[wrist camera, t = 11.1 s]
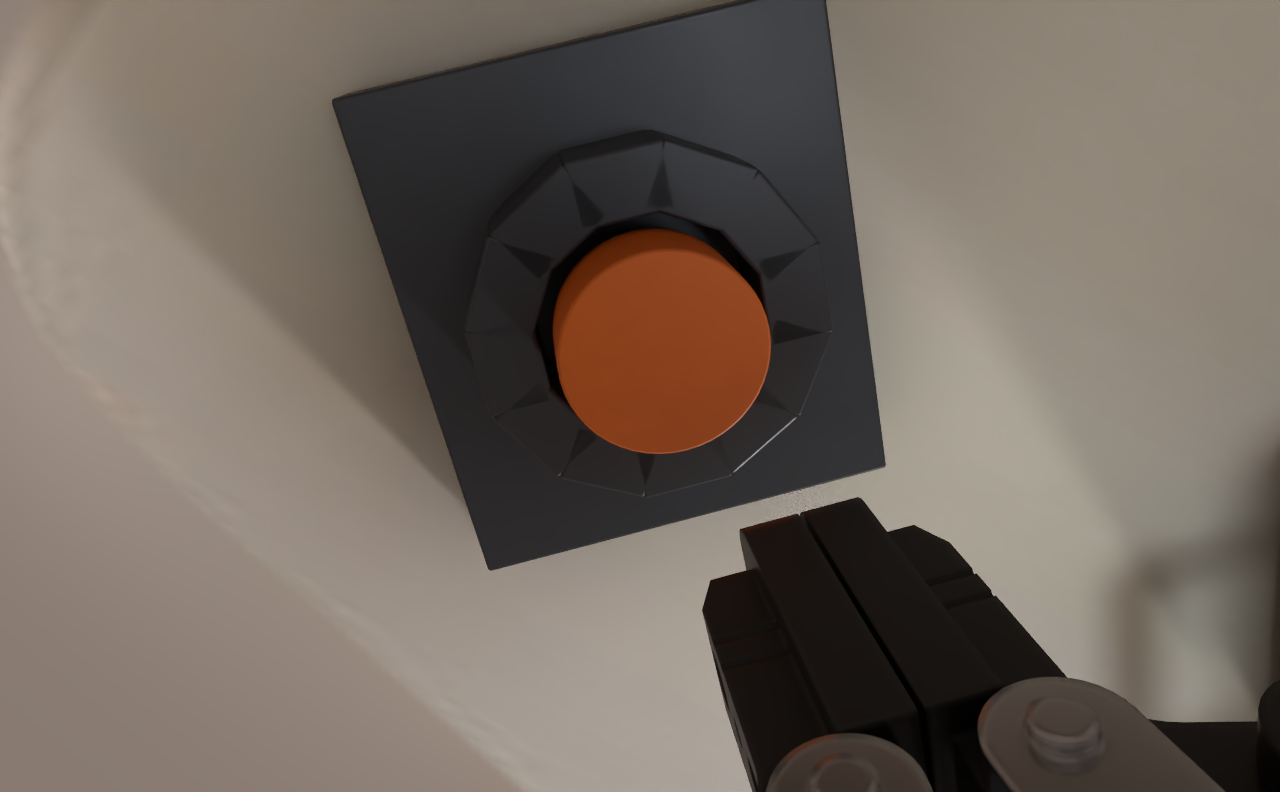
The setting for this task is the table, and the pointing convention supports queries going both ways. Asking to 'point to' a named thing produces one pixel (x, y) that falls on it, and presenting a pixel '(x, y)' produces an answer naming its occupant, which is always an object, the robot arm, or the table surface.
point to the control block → (598, 210)
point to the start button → (659, 341)
